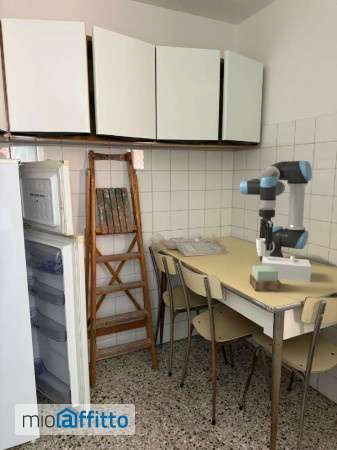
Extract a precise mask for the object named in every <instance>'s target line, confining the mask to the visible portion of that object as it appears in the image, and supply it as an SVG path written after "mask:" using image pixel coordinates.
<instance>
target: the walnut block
mask: <svg viewBox="0 0 337 450" xmlns="http://www.w3.org/2000/svg"><path fill="white" fill-rule="evenodd" d="M249 284H250V286H251V287H252V289H253V290H254V291H255V292H276V293H277V292H281V284H282V282H281V281H280V279H278V281H257V280H256V279H255V278H254V276H253V275H252V273H251V274H249Z"/></svg>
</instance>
